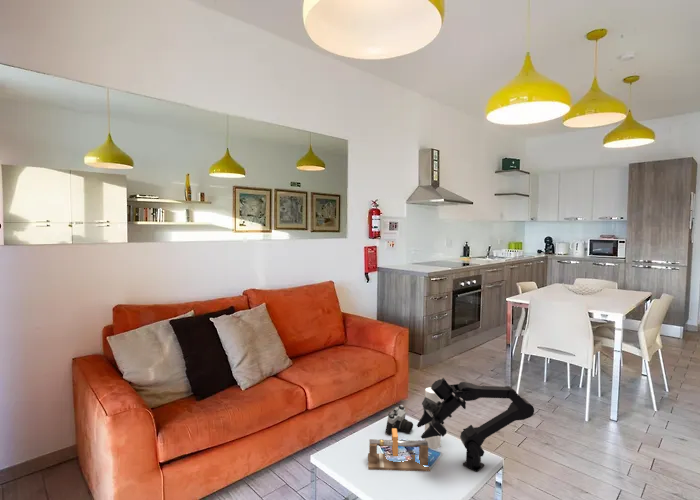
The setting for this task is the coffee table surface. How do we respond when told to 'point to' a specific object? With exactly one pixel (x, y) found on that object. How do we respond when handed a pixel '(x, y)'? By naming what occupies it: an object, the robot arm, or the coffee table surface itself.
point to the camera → (398, 421)
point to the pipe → (400, 443)
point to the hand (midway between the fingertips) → (419, 431)
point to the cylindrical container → (435, 440)
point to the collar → (395, 442)
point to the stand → (382, 463)
